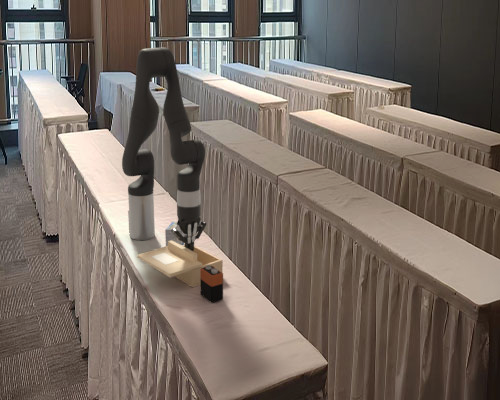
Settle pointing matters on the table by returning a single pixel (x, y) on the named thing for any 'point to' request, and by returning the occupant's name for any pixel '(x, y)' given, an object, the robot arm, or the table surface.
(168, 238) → the medicine box
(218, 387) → the table surface
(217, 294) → the battery
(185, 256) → the lid
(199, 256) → the box
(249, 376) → the table surface
